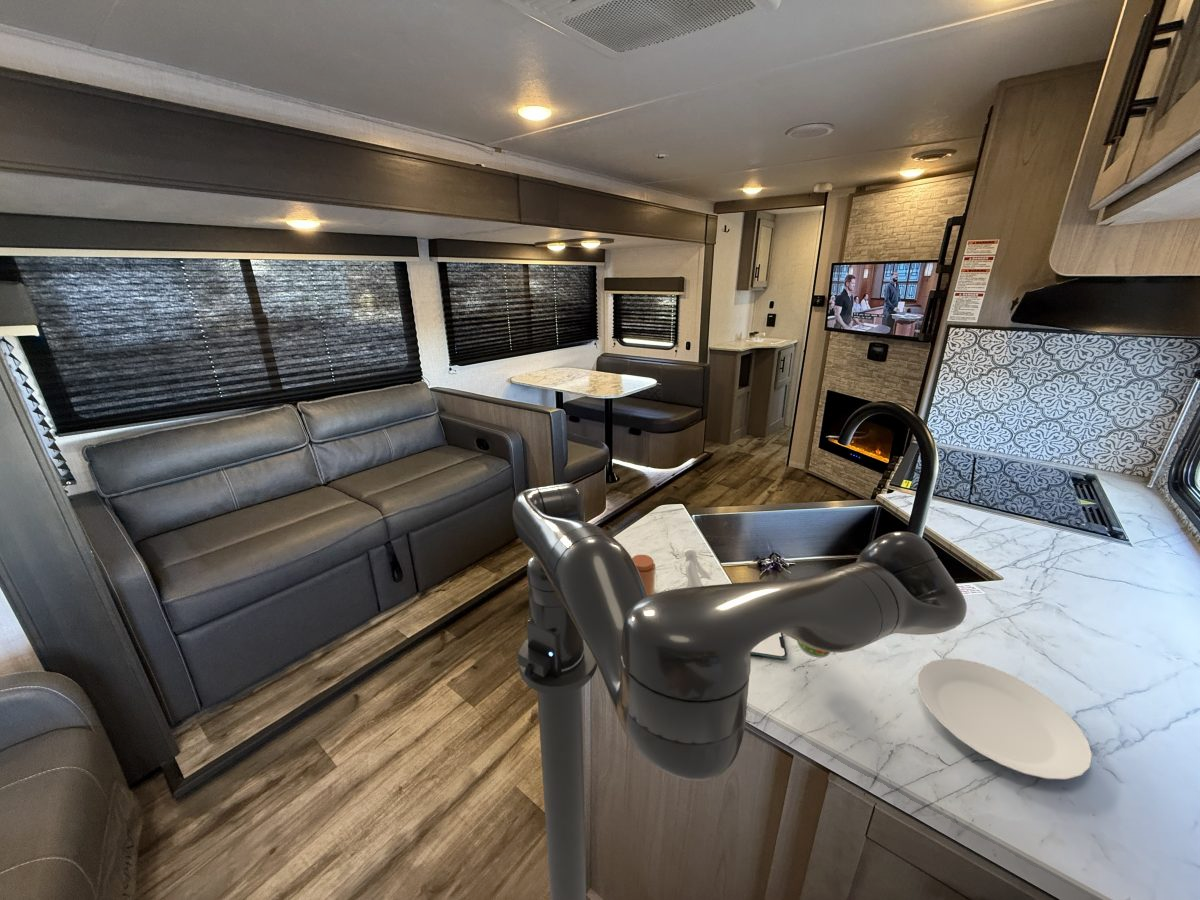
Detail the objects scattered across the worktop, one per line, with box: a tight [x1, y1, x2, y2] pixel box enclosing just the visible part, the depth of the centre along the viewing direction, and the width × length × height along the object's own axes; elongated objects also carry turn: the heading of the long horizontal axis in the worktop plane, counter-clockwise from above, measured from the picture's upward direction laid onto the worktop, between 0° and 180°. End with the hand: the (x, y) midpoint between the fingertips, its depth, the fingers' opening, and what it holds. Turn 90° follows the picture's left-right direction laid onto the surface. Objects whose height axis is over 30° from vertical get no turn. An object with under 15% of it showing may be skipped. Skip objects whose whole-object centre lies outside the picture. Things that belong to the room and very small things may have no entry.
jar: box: [632, 554, 656, 596], centre depth 99 cm, size 6×6×9 cm
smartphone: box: [750, 633, 788, 660], centre depth 88 cm, size 8×1×16 cm
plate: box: [916, 658, 1093, 781], centre depth 72 cm, size 21×21×2 cm
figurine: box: [683, 548, 712, 588], centre depth 97 cm, size 8×8×12 cm
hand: (815, 613), depth 79 cm, fingers closed on supplement bottle, 5 cm apart
